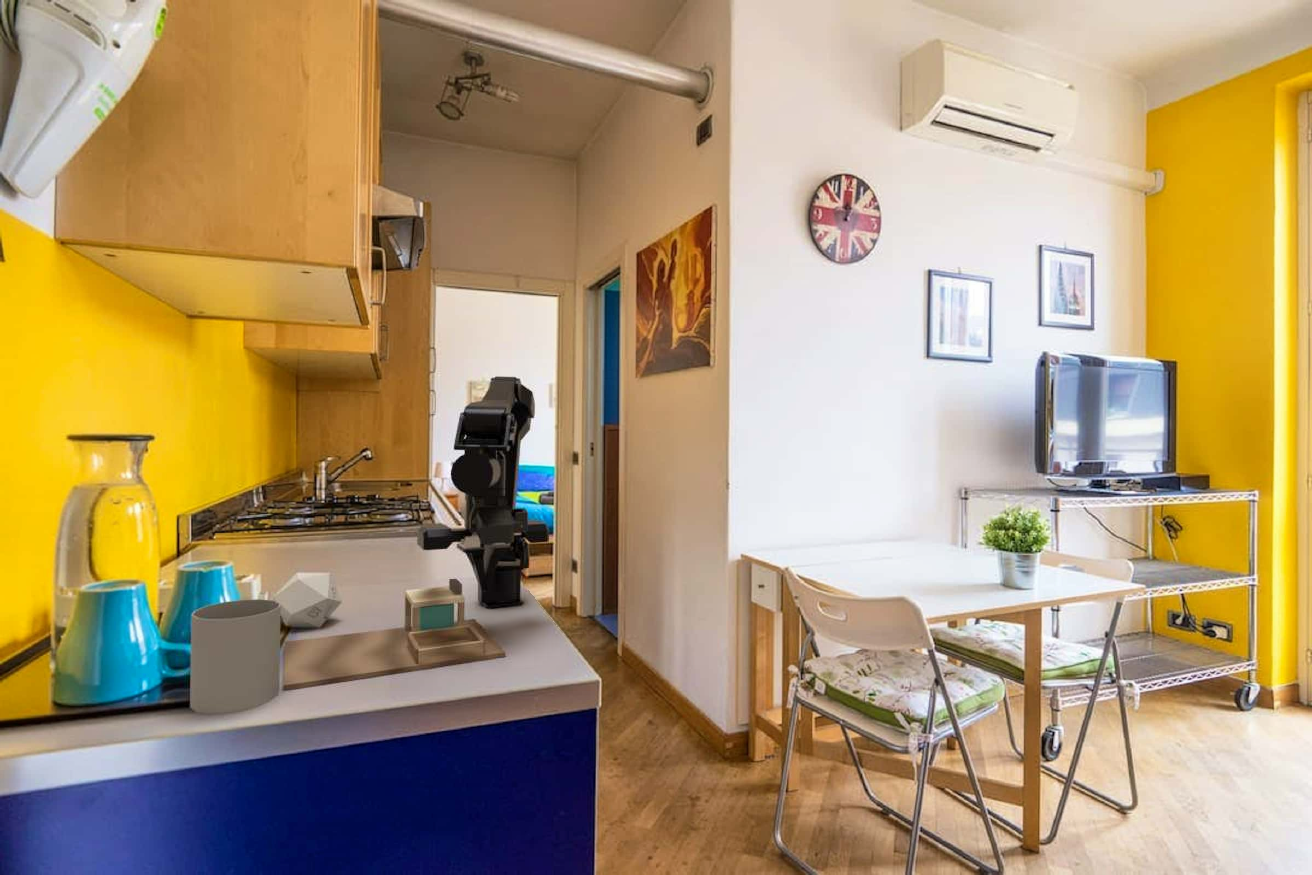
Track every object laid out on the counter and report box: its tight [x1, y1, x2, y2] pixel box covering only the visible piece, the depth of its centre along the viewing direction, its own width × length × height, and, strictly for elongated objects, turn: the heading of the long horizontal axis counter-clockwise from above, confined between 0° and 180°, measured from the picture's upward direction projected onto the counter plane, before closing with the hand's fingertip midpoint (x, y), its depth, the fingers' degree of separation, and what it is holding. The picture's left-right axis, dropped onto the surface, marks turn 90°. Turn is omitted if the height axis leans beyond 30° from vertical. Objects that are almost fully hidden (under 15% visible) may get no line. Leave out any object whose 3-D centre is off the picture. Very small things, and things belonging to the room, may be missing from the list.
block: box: [419, 603, 453, 631], centre depth 95 cm, size 4×4×4 cm
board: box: [282, 618, 506, 692], centre depth 89 cm, size 26×17×2 cm, turn 119°
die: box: [272, 572, 343, 628], centre depth 100 cm, size 8×9×10 cm
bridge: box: [404, 578, 466, 632], centre depth 95 cm, size 7×8×7 cm
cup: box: [189, 598, 281, 715], centre depth 73 cm, size 8×8×10 cm
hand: (483, 590), depth 99 cm, fingers closed
